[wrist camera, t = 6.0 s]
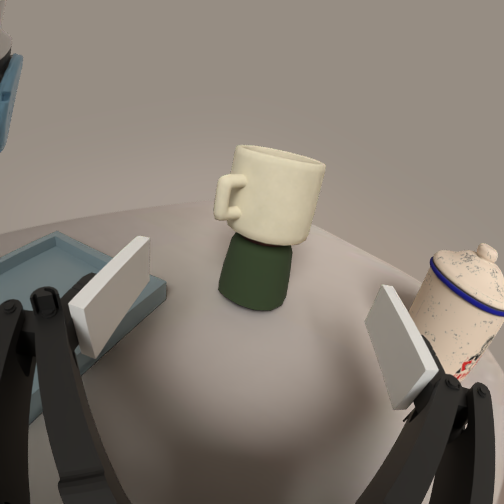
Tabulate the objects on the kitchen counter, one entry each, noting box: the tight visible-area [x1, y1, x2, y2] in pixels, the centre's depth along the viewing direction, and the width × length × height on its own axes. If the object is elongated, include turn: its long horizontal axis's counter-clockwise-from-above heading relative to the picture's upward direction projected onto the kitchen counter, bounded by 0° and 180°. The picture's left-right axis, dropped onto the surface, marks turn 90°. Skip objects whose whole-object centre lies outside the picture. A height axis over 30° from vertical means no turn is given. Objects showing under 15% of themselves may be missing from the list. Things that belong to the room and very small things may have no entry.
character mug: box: [213, 145, 326, 310], centre depth 23 cm, size 11×7×13 cm, turn 132°
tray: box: [0, 231, 166, 425], centre depth 18 cm, size 16×16×2 cm
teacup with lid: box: [408, 243, 504, 383], centre depth 19 cm, size 12×9×12 cm
